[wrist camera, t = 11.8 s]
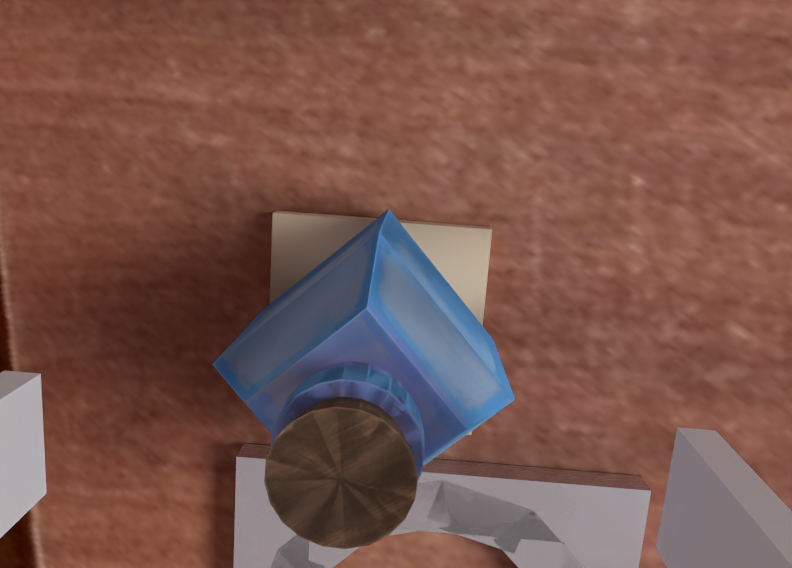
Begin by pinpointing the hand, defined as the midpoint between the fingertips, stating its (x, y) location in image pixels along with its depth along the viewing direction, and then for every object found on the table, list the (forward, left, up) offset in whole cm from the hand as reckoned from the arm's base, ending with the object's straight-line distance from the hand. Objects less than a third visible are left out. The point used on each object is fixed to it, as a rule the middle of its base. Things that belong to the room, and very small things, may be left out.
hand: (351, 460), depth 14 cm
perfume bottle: (0, 0, -12) cm, 12 cm away
